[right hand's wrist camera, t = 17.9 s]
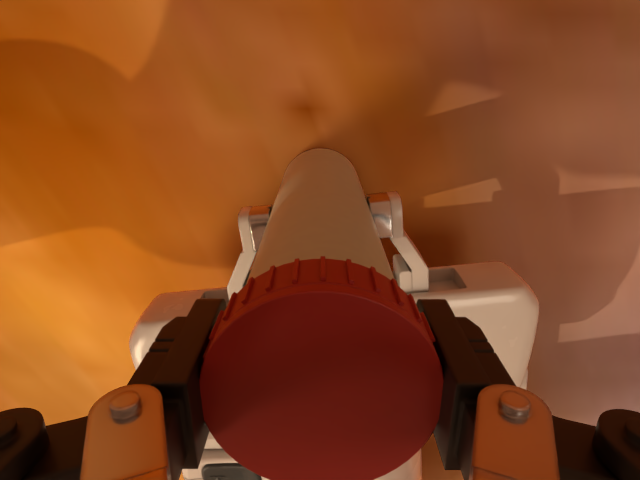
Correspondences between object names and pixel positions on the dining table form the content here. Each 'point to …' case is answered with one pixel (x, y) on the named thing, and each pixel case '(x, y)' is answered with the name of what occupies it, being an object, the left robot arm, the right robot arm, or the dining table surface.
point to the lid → (321, 374)
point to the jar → (320, 216)
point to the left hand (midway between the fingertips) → (317, 202)
